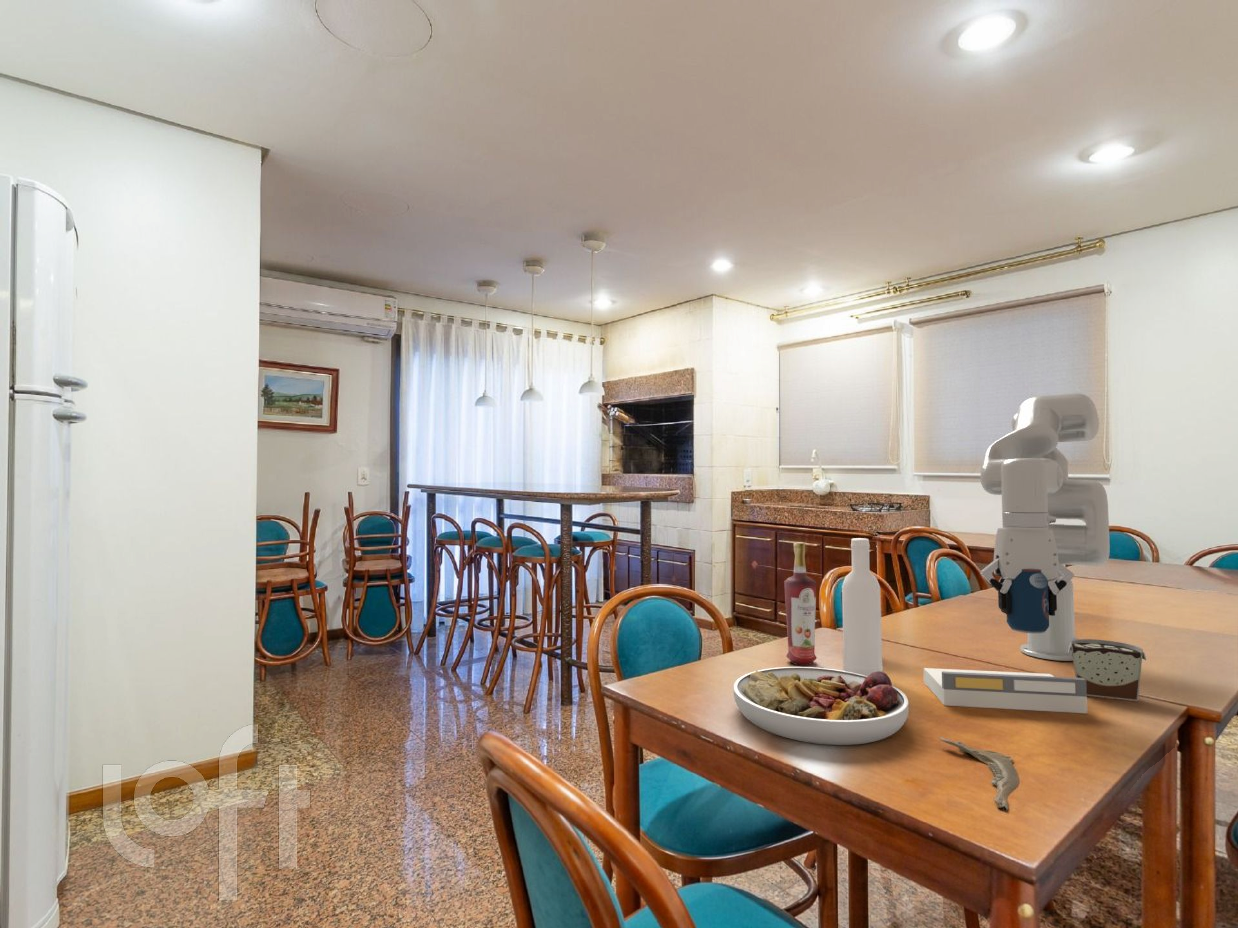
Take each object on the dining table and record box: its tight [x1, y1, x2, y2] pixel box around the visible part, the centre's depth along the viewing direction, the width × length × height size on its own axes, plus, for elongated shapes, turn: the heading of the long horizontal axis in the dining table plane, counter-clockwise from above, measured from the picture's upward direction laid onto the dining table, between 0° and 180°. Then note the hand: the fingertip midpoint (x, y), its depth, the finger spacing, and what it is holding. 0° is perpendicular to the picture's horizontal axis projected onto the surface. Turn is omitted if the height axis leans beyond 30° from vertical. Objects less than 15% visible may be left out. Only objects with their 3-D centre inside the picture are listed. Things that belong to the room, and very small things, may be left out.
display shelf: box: [923, 667, 1088, 714], centre depth 124 cm, size 24×14×6 cm, turn 79°
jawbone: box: [939, 736, 1021, 812], centre depth 90 cm, size 9×20×2 cm, turn 174°
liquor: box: [783, 542, 817, 666], centre depth 149 cm, size 7×7×28 cm
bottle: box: [841, 537, 884, 676], centre depth 137 cm, size 8×8×30 cm
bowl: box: [733, 666, 910, 746], centre depth 114 cm, size 30×30×8 cm
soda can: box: [1006, 569, 1049, 634], centre depth 122 cm, size 7×7×12 cm
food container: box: [1068, 638, 1147, 702], centre depth 126 cm, size 12×6×10 cm, turn 65°
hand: (1027, 612), depth 122 cm, fingers closed on soda can, 6 cm apart
